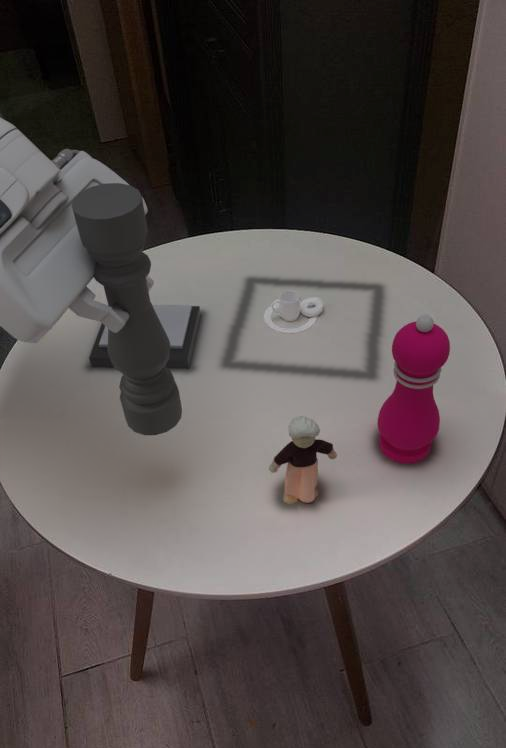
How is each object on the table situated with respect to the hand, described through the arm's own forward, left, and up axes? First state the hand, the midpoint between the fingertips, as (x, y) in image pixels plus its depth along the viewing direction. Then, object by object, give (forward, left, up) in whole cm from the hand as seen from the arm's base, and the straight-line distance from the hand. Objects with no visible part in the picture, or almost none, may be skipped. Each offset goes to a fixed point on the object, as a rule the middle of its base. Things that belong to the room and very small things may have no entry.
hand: (135, 308), depth 63 cm
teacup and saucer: (+15, +30, -26) cm, 42 cm away
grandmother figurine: (+16, -1, -26) cm, 30 cm away
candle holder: (-1, 0, -15) cm, 15 cm away
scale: (-8, +26, -26) cm, 38 cm away
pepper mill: (+28, +7, -26) cm, 39 cm away
